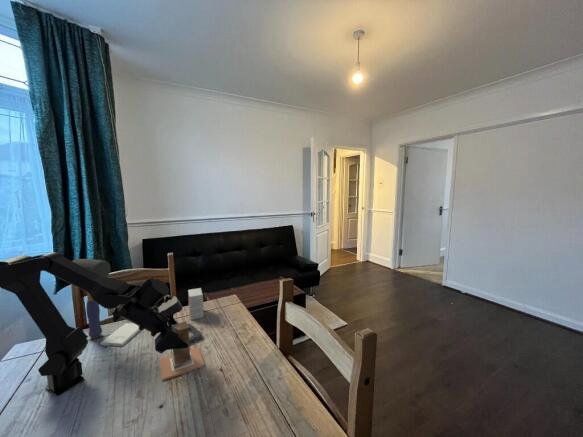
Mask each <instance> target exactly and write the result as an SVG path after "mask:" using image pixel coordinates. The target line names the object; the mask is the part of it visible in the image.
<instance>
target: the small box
mask: <svg viewBox="0 0 583 437" xmlns="http://www.w3.org/2000/svg"><path fill="white" fill-rule="evenodd" d="M187 294H188V295H187V296H188V312H189V313H188V314H189V320H197V319H202V318H204V315H205V314H204V295H203V291H202V287H199V288H192V289H188V290H187Z"/></svg>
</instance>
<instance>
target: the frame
mask: <svg viewBox="0 0 583 437" xmlns="http://www.w3.org/2000/svg"><path fill="white" fill-rule="evenodd" d="M187 324H188V327H189V333H191V334H192V335H190V336H189V344H192V343H194V342H196V341H199V340H200V339H203V334H202V332H201V331H200V330H198V329H197V328H196V327H195V326H194V325H193V324H192V323H191V322H190V323H187Z"/></svg>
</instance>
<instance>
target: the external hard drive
mask: <svg viewBox="0 0 583 437" xmlns="http://www.w3.org/2000/svg"><path fill="white" fill-rule="evenodd" d="M140 331H141V330H139V326H138V325H136V324H134V323H132V322H129V323H126V322H125V323H124V324H123V325H122V326H120V327H119V328H118V329H116V330H115V331H114V332H112V333H111V334H110V335H109V336H107V337H106V338H105V339H104V340H102V341H101V342H100V346H113V347H114V346H115V347H123V346H124V345H125V344H127V343H128V342H129V341H130V340H131V339H132V338H134V336H136V335H137V334H139V333H140Z"/></svg>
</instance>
